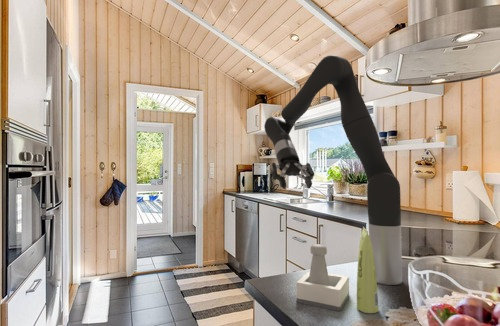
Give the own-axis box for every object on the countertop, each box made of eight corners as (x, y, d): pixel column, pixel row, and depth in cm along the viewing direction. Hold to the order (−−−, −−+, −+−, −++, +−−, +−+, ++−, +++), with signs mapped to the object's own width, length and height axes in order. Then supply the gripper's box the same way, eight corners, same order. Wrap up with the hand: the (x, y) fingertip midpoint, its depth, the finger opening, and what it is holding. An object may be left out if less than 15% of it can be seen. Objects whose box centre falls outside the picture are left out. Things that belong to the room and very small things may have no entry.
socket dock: (309, 288, 88) (309, 270, 88) (349, 295, 82) (348, 276, 83) (296, 302, 78) (296, 282, 78) (340, 311, 73) (339, 290, 73)
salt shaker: (314, 288, 85) (313, 241, 85) (333, 293, 81) (333, 244, 82) (304, 295, 80) (303, 245, 80) (324, 300, 76) (323, 248, 77)
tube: (350, 306, 75) (349, 227, 76) (364, 302, 78) (363, 225, 78) (368, 316, 70) (367, 231, 71) (383, 311, 73) (382, 229, 73)
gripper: (269, 146, 107) (278, 179, 96) (307, 146, 110) (321, 179, 98) (265, 161, 112) (274, 195, 101) (302, 162, 115) (314, 194, 103)
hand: (297, 187), depth 99 cm, fingers open, 8 cm apart
